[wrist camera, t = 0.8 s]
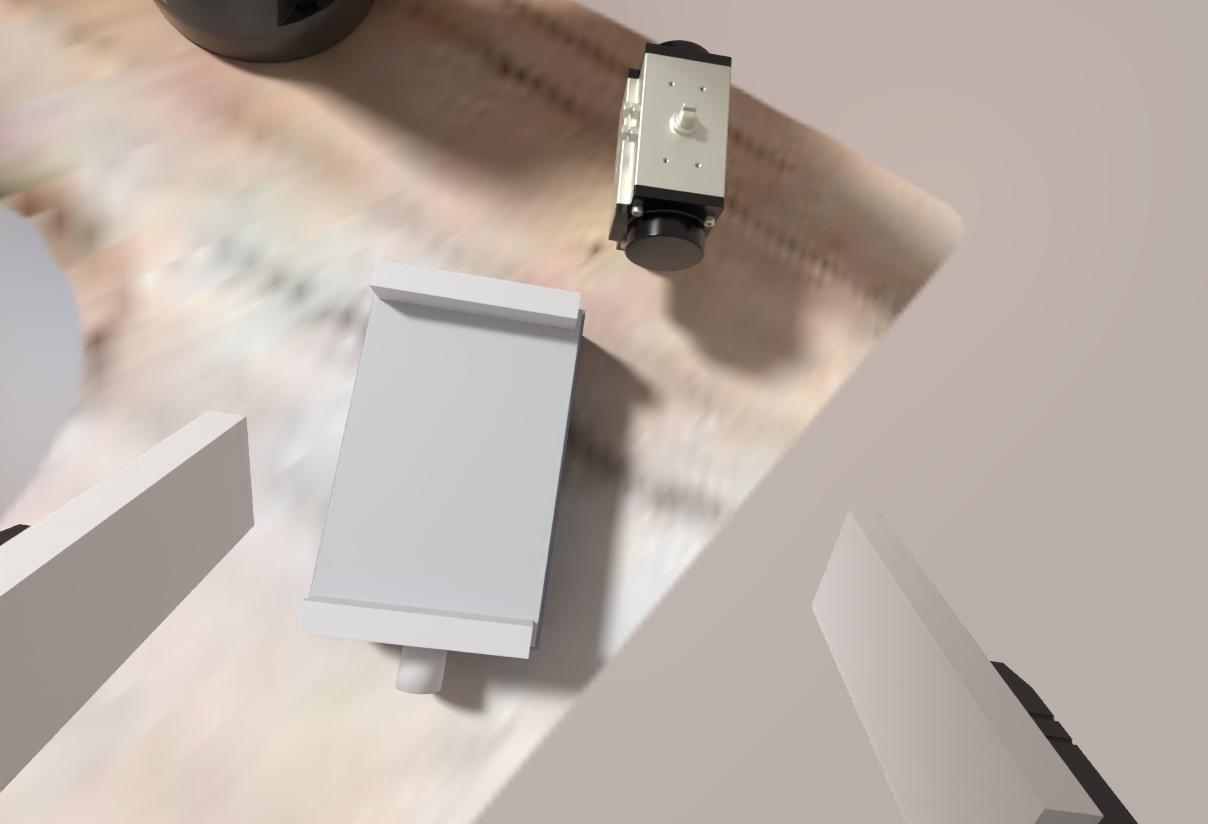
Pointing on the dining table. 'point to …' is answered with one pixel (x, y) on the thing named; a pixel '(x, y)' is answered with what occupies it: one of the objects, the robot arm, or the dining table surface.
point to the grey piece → (448, 470)
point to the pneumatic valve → (671, 155)
